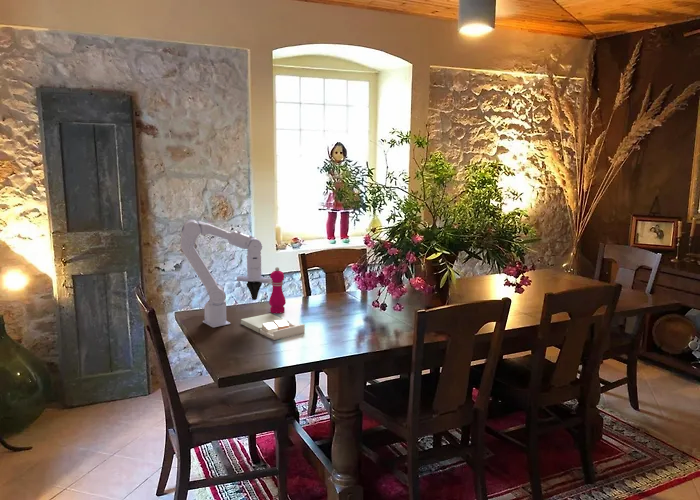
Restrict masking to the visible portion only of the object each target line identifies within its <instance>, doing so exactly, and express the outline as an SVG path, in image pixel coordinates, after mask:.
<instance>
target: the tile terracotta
mask: <svg viewBox="0 0 700 500" xmlns="http://www.w3.org/2000/svg"><path fill="white" fill-rule="evenodd" d="M285 320H286V319H285ZM285 320H278V321H274V324H275V325H276V326H277V327H278V330H281V329H285V328H289V324H288V323H287V322H286V321H285Z"/></svg>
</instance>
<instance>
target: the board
mask: <svg viewBox="0 0 700 500" xmlns="http://www.w3.org/2000/svg"><path fill="white" fill-rule="evenodd" d="M278 320H285V321H286V322H287V323H290V321H288V320H287V319H285V318H282V317H279V316H278V315H275V314H274V313H271V312H270V313H265V314H260V315H256V316H251V317H245V318H241V319H240V324H241V325H242V326H244V327H246V328H248V329H251V330H252V331H255V332H257V333H258V334H260V329H262V324H265V323H270V322H273V323H274V321H278Z"/></svg>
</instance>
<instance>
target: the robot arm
mask: <svg viewBox="0 0 700 500" xmlns="http://www.w3.org/2000/svg"><path fill="white" fill-rule="evenodd" d="M200 234H201V236H205V235H208V234H209V235H211V236H215V237H217V238H221V239H224V240H227V241H228V242H227V243H228V244H229V245H231V246H235V247H236V248H240V249H242V250H247V255H246V270H247V271H246V275H237V276H236V282H247V283H246V284H245V285H246V287H247V289H248V291H249V294H250V296H251V300H252V301H256V300H258V295H259V292H260V289H261V287H262V284H269V285H270V284H271V285H272V278H270V277H264V276H262V255H261V254H262V249H263V244H262V242H261V241H260V240H259V239H258V238H257V237H255V236H252V235H250V234H249V235H248V234H244V233H242V231H241V230H232V231H228V230H225V229H223V228H221V227H219V226H216V225H213V224H210V223H207V222H204V221H201V220H196V219H194V218H190V219H187V220H186V221H185V222H184V223H183V225H182V228H181V234H180V248H181V250H182V252H183V254H184V256H185V258H187V260H188V262H189V263H190V265H191V267H192V268H193V270H194V271H195V273H196V274H197V276H198V278H199V279H200V281H201V283H202V284H203V286H204V288H205V290H206V291H207V294H208V295H209V296H208V298H209V299H208V300H207V301H206V303H205V304H204V320H202V323H204V324H205V325H207V326H208V327H211V328H217V327H222V326H226V325H231V322H230V321H228V320H227V301H226V292H225V291H224V290H225V289H224V287H223V286H222V285H221V284H219V283H218V282H217V281H216V279H215V277H213V276H214V275H212V273H211V271H210V270H209V268H208V267H207V265H206V263H205V262H204V260H203V259H202V257H201V256H200V254H199V252H198V251H197V249H196V248H195V242H196V240H197V239H198V237H199V236H200Z"/></svg>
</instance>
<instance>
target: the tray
mask: <svg viewBox="0 0 700 500" xmlns="http://www.w3.org/2000/svg"><path fill="white" fill-rule="evenodd" d="M288 324H289V328H285V329H281V330H277V331H273V333H271V334H269V333H267V332H265V331H264V330H263V329H260V333H259V334H260V335H263V336H265V337H267V338H269V339H270V340H273V341H277V340H282V339H286V338H290V337H294V336H297V335H298V336H299V335H302V334H305V327H306V326H305V325H306V324H304V323H303V324H299V325H296V324H293V323H290V322H289V323H288Z"/></svg>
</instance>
